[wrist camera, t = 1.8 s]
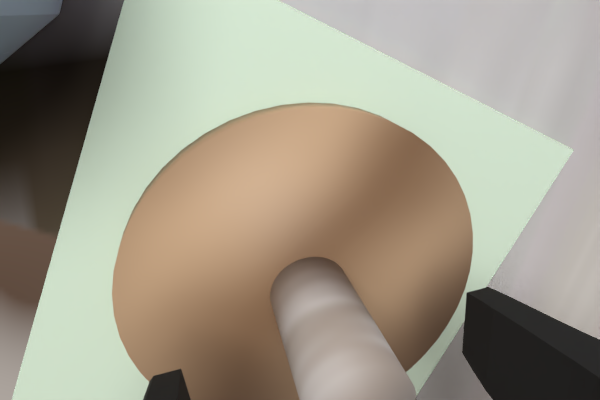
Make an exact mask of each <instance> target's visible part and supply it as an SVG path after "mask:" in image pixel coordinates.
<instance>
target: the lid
mask: <svg viewBox="0 0 600 400" xmlns="http://www.w3.org/2000/svg"><path fill="white" fill-rule="evenodd" d="M472 254H473V230H472V223H471V215H470V211H469V208H468V204H467V201H466V198H465V195H464V193H463V191H462V188H461V186H460V184H459V182H458V180H457V178H456V176H455V175H454V174H453V172H452V171H451V169H450V168H449V166H448V165H447V163H446V162H445V161H444V160H443V159H442V158H441V157H440V156H439V155H438V153H437V152H436V151H435V150H434V149H433V148H432V147H431V146H430V145H428V144H427V143H426V142H424V141H423V140H422V139H420V138H419V137H418V136H416V135H415V134H414V133H412V132H410V131H408V130H406V129H404V128H403V127H401V126H399V125H397V124H395V123H393V122H391V121H389V120H387V119H385V118H383V117H382V116H379V115H376V114H374V113H371V112H368V111H365V110H362V109H359V108H355V107H349V106H344V105H339V104H331V103H309V102H308V103H297V104H286V105H279V106H275V107H270V108H266V109H262V110H257V111H254V112H251V113H248V114H246V115H243V116H240V117H238V118H235V119H232V120H229V121H228V122H226V123H224V124H222V125H220V126H218V127H216V128H214V129H212V130H210V131H209V132H207V133H205V134H203V135H202V136H201V137H199V138H198V139H196V140H195V141H193V142H192V143H191V144H189V145H188V146H186V147H185V148H184V149H182V150H181V151H180V152H179V153H178V154H177V155H176V156H175V157H174V158H172V159H171V160H170V161H169V162H168V163H167V164H166V165H165V166H164V167H163V168H162V169H161V170H160V171H159V173H158V174H157V175H156V176H155V178H154V179H153V180H152V181H151V182H150V184H149V185H148V186H147V187H146V189H145V190H144V192H143V194H142V195H141V197H140V199H139V200H138V202H137V204H136V205H135V207H134V209H133V210H132V213H131V215H130V218H129V220H128V222H127V225H126V227H125V230H124V232H123V235H122V239H121V243H120V246H119V250H118V254H117V258H116V263H115V267H114V271H113V285H112V301H113V311H114V318H115V322H116V325H117V329H118V333H119V336H120V339H121V341H122V343H123V345H124V347H125V349H126V351H127V354H128V356H129V357H130V359H131V360H132V361H133V363H134V364H135V366H136V367H137V369H138V370H139V372H140V373H141V374H142V375H143V376H144V377H145V378H146V379H147V380H148V381H149V382H150V380H151V379H152V377H153V376H155V375H159V374H162V373H166V372H170V371H174V370H178V369H181V370H182V373H183V376H184V380H185V383H186V386H187V389H188V392H189V396H190V399H191V400H416V391H415V387H414V385H413V383H412V382H411V380H410V378H409V377H408V375H407V373H406V372H407V371H408V370H409V369H411V368H412V367H413V366H414V365H415V364H416V363H417V362H418V361H419V360H420V359H421V358H422V357H423V356H424V355H425V354H426V353H427V351H428V350H429V349H430V348H431V347H432V345H433V344H434V343H435V342H436V341H437V340H438V338H439V337H440V335H441V334H442V332H443V331H444V329H445V328H446V326H447V325H448V324H449V322H450V320H451V318H452V316H453V314H454V313H455V311H456V309H457V307H458V305H459V302H460V300H461V297H462V295H463V292H464V290H465V287H466V283H467V280H468V276H469V272H470V267H471V260H472Z"/></svg>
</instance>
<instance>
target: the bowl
mask: <svg viewBox="0 0 600 400" xmlns="http://www.w3.org/2000/svg"><path fill="white" fill-rule="evenodd" d="M62 1H63V0H0V64H1V63H2V62H3V61H5V60H6V59H7V58H8V57H9V56H11V55H12V54H13V53H14V52H15V51H16V50H18V49H19V48H20V47H21V46H22V45H23V44H25V43H26V42H27V41H28V40H29V39H31V38H32V37H33V36H34V35H35V34H36V33H38V32H39V31H40V30H41V29H42V28H44V27H45V26H46V25H47V24H48V23H49V22H51V21H52V20H53V19H54V18H55V17H56V16H58V15H59V13H60V9H61V5H62Z"/></svg>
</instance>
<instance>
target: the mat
mask: <svg viewBox="0 0 600 400" xmlns="http://www.w3.org/2000/svg"><path fill="white" fill-rule="evenodd" d="M308 102H309V103H331V104H339V105H344V106H349V107H355V108H359V109H362V110H365V111H368V112H371V113H374V114H376V115H379V116H382V117H383V118H385V119H387V120H389V121H391V122H393V123H395V124H397V125H399V126H401V127H403V128H404V129H406V130H408V131H410V132H412V133H414V134H415V135H416V136H418V137H419V138H420V139H422V140H423V141H424V142H426V143H427V144H428V145H430V146H431V147H432V148H433V149H434V150H435V151H436V152H437V153H438V155H439V156H440V157H441V158H442V159H443V160H444V161H445V162H446V163H447V165H448V166H449V168H450V169H451V171H452V172H453V174H454V175H455V176H456V178H457V180H458V182H459V184H460V186H461V188H462V191H463V193H464V195H465V198H466V201H467V204H468V208H469V211H470V215H471V223H472V230H473V254H472V260H471V267H470V272H469V276H468V280H467V283H466V287H465V290H464V292H463V295H462V297H461V300H460V302H459V305H458V307H457V309H456V311H455V313H454V314H453V316H452V318H451V320H450V322H449V324H448V325H447V326H446V328H445V329H444V331H443V332H442V334H441V335H440V337H439V338H438V340H437V341H436V342H435V343H434V344H433V345H432V347H431V348H430V349H429V350H428V351H427V353H426V354H425V355H424V356H423V357H422V358H421V359H420V360H419V361H418V362H417V363H416V364H415V365H414V366H413V367H412V368H411V369H409V370H408V371H407V372H406V373H407V375H408V377H409V378H410V380H411V382H412V383H413V385H414V387H415V391H416V396H417V395H418V393H419V391H420V390H421V388H422V387H423V385H424V384H425V382H426V381H427V379H428V377H429V376H430V374H431V373H432V371H433V370H434V368H435V366H436V365H437V363H438V362H439V360H440V359H441V357H442V356H443V354H444V352H445V351H446V349H447V348H448V346H449V345H450V343H451V341H452V340H453V338H454V337H455V335H456V334H457V332H458V330H459V329H460V327H461V326H462V324H463V323H464V321H465V309H466V294H467V292H471V291H475V290H478V289H482V288H486V287H487V285H488V284H489V282H490V280H491V279H492V277H493V276H494V274H495V273H496V271H497V269H498V268H499V266H500V265H501V263H502V262H503V260H504V258H505V257H506V255H507V254H508V252H509V251H510V249H511V248H512V246H513V244H514V243H515V241H516V240H517V238H518V237H519V235H520V233H521V232H522V230H523V229H524V227H525V226H526V224H527V222H528V221H529V219H530V218H531V216H532V215H533V213H534V212H535V210H536V208H537V207H538V205H539V204H540V202H541V201H542V199H543V197H544V196H545V194H546V193H547V191H548V190H549V188H550V187H551V185H552V183H553V182H554V180H555V179H556V177H557V176H558V174H559V172H560V171H561V169H562V168H563V166H564V165H565V163H566V161H567V160H568V158H569V157H570V155H571V154H572V152H573V151H574V150H573V149H571V148H569V147H567V146H565V145H563V144H561V143H559V142H557V141H555V140H553V139H551V138H549V137H547V136H546V135H544V134H542V133H540V132H538V131H536V130H534V129H532V128H530V127H528V126H526V125H524V124H522V123H520V122H518V121H516V120H514V119H512V118H510V117H508V116H506V115H504V114H502V113H500V112H498V111H496V110H494V109H492V108H490V107H488V106H486V105H484V104H482V103H480V102H478V101H476V100H474V99H472V98H470V97H468V96H466V95H464V94H463V93H461V92H459V91H457V90H455V89H453V88H451V87H449V86H447V85H445V84H443V83H441V82H439V81H437V80H435V79H433V78H431V77H429V76H427V75H425V74H423V73H421V72H419V71H417V70H415V69H413V68H411V67H409V66H407V65H405V64H403V63H401V62H399V61H397V60H395V59H393V58H391V57H389V56H387V55H385V54H383V53H381V52H380V51H378V50H376V49H374V48H372V47H370V46H368V45H366V44H364V43H362V42H360V41H358V40H356V39H354V38H352V37H350V36H348V35H346V34H344V33H342V32H340V31H338V30H336V29H334V28H332V27H330V26H328V25H326V24H324V23H322V22H320V21H318V20H316V19H314V18H312V17H310V16H308V15H306V14H304V13H302V12H300V11H298V10H297V9H295V8H293V7H291V6H289V5H287V4H285V3H283V2H281V1H279V0H124V3H123V6H122V10H121V13H120V17H119V20H118V24H117V27H116V31H115V35H114V38H113V42H112V45H111V49H110V52H109V56H108V59H107V63H106V67H105V70H104V74H103V77H102V81H101V84H100V88H99V91H98V95H97V99H96V102H95V106H94V109H93V113H92V116H91V120H90V124H89V127H88V131H87V134H86V138H85V141H84V145H83V148H82V152H81V156H80V159H79V163H78V166H77V170H76V173H75V177H74V180H73V184H72V188H71V191H70V195H69V198H68V202H67V205H66V209H65V212H64V216H63V220H62V223H61V227H60V230H59V234H58V237H57V241H56V244H55V248H54V252H53V255H52V259H51V263H50V266H49V270H48V273H47V276H46V280H45V284H44V287H43V291H42V294H41V298H40V301H39V305H38V308H37V312H36V316H35V319H34V323H33V326H32V330H31V333H30V337H29V341H28V345H27V348H26V351H25V355H24V358H23V362H22V365H21V369H20V373H19V376H18V380H17V383H16V387H15V391H14V394H13V398H12V400H143V398H144V395H145V393H146V390H147V387H148V384H149V381H148V380H147V379H146V378H145V377H144V376H143V375H142V374H141V373H140V372H139V370H138V369H137V367H136V366H135V364H134V363H133V361H132V360H131V359H130V357H129V356H128V354H127V351H126V349H125V347H124V345H123V343H122V341H121V339H120V336H119V333H118V329H117V325H116V322H115V318H114V311H113V301H112V285H113V271H114V267H115V263H116V258H117V254H118V250H119V246H120V243H121V239H122V235H123V232H124V230H125V227H126V225H127V222H128V220H129V218H130V215H131V213H132V210H133V209H134V207H135V205H136V204H137V202H138V200H139V199H140V197H141V195H142V194H143V192H144V190H145V189H146V187H147V186H148V185H149V184H150V182H151V181H152V180H153V179H154V178H155V176H156V175H157V174H158V173H159V171H160V170H161V169H162V168H163V167H164V166H165V165H166V164H167V163H168V162H169V161H170V160H171V159H172V158H174V157H175V156H176V155H177V154H178V153H179V152H180V151H181V150H182V149H184V148H185V147H186V146H188V145H189V144H191V143H192V142H193V141H195V140H196V139H198V138H199V137H201V136H202V135H203V134H205V133H207V132H209V131H210V130H212V129H214V128H216V127H218V126H220V125H222V124H224V123H226V122H228V121H229V120H232V119H235V118H238V117H240V116H243V115H246V114H248V113H251V112H254V111H257V110H262V109H266V108H270V107H275V106H279V105H286V104H297V103H308Z"/></svg>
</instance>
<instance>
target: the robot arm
mask: <svg viewBox="0 0 600 400" xmlns="http://www.w3.org/2000/svg"><path fill="white" fill-rule="evenodd" d="M462 353H463V355H464V356H465V358H466V360H467V361H468V363H469V365H470V366H471V368H472V370H473V371H474V373H475V374H476V376H477V377H478V379H479V381H480V382H481V384H482V385H483V387H484V388H485V390H486V391H487V392H488V394H489V395H490V396H491V398H492V399H493V400H600V340H599V339H597V338H595V337H592V336H590V335H588V334H586V333H584V332H581V331H579V330H577V329H575V328H573V327H571V326H569V325H567V324H564V323H562V322H560V321H558V320H556V319H554V318H552V317H550V316H548V315H546V314H544V313H542V312H540V311H538V310H536V309H534V308H531V307H529V306H527V305H525V304H523V303H521V302H519V301H517V300H515V299H513V298H511V297H509V296H507V295H505V294H503V293H500V292H498V291H496V290H494V289H491V288H489V287H486V288H482V289H478V290H475V291H471V292H467V294H466V309H465V323H464V337H463V351H462ZM143 400H191V399H190V396H189V392H188V389H187V386H186V383H185V380H184V376H183V373H182V370H181V369H178V370H174V371H170V372H166V373H162V374H159V375H155V376H153V377H152V379H151V380H150V382H149V384H148V387H147V390H146V393H145V395H144V398H143Z"/></svg>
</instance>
